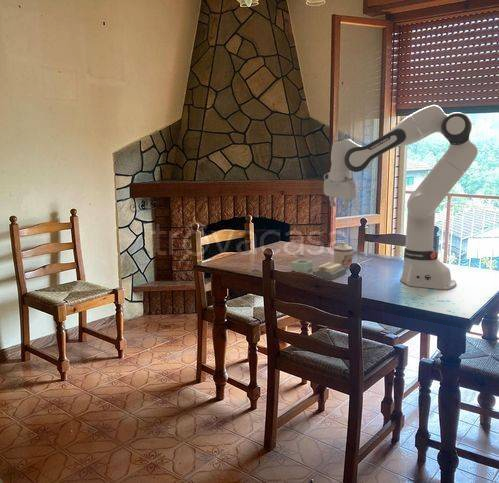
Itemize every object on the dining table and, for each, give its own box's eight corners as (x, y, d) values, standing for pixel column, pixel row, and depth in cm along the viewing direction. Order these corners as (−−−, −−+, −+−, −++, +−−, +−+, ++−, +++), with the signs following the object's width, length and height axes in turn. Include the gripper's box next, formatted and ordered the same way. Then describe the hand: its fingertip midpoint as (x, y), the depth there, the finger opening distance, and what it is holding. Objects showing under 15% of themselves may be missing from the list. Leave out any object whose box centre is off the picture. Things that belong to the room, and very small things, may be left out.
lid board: (341, 268, 237) (341, 264, 236) (330, 273, 229) (330, 268, 228) (328, 266, 240) (328, 262, 240) (317, 271, 232) (317, 266, 232)
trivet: (346, 273, 237) (346, 268, 237) (332, 279, 227) (332, 274, 226) (326, 270, 243) (326, 265, 242) (312, 276, 233) (312, 271, 232)
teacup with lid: (343, 269, 244) (344, 245, 242) (329, 266, 251) (329, 242, 249) (360, 265, 252) (361, 241, 249) (345, 262, 259) (346, 239, 256)
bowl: (312, 270, 243) (312, 261, 243) (304, 273, 238) (304, 264, 237) (299, 268, 248) (299, 259, 247) (291, 271, 242) (291, 262, 241)
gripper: (360, 178, 221) (358, 210, 224) (333, 174, 239) (332, 204, 242) (348, 178, 219) (346, 211, 221) (321, 174, 237) (320, 205, 240)
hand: (338, 207), depth 232 cm, fingers open, 8 cm apart
